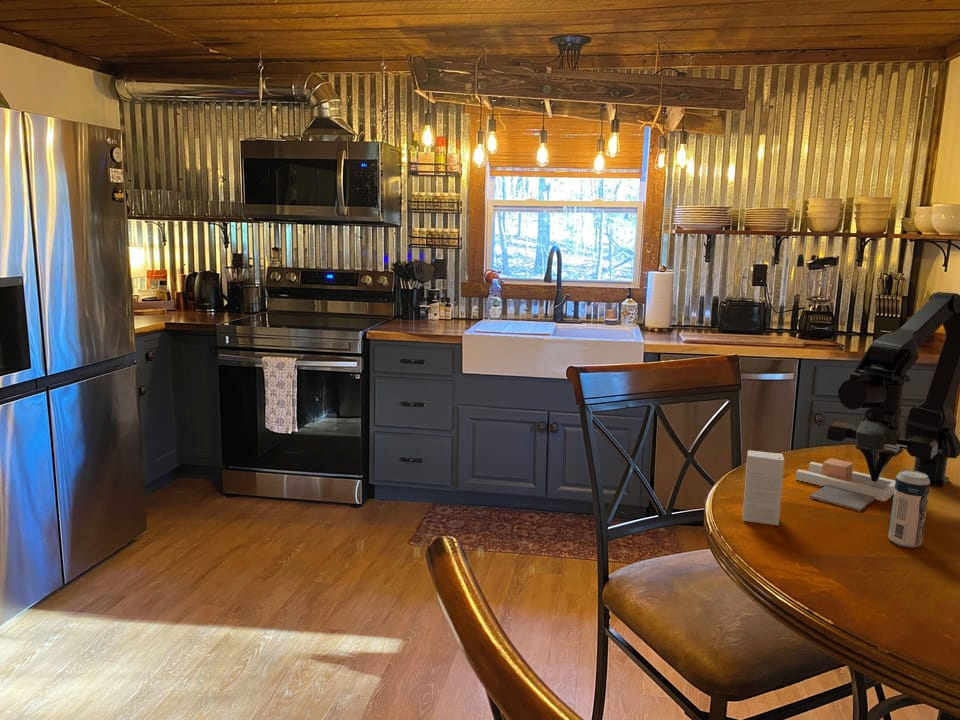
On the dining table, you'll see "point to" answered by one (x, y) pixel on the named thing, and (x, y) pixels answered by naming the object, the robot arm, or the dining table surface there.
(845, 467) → the block
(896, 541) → the beer can
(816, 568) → the dining table surface
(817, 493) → the coaster
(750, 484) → the skincare box
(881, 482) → the channel
